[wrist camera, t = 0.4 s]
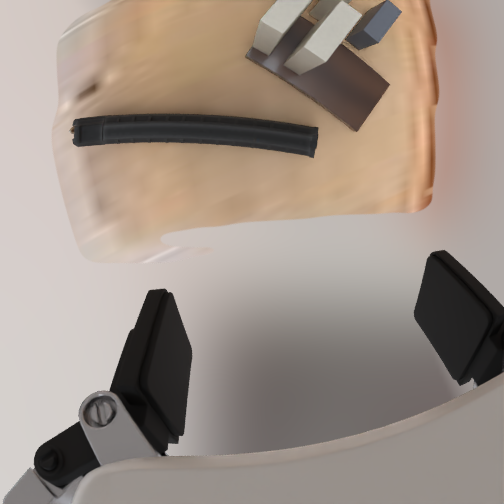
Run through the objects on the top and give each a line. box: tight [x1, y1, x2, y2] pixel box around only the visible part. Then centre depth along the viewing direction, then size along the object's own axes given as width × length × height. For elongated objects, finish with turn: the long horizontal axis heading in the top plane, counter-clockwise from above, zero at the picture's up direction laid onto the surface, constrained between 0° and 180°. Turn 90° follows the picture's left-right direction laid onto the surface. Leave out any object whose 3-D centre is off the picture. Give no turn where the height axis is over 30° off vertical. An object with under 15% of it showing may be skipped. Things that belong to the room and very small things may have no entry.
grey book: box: [345, 0, 402, 50], centre depth 24 cm, size 7×2×6 cm, turn 148°
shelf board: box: [245, 16, 390, 132], centre depth 30 cm, size 9×17×1 cm, turn 58°
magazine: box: [69, 114, 318, 158], centre depth 29 cm, size 17×3×30 cm
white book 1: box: [252, 0, 312, 56], centre depth 22 cm, size 7×2×11 cm, turn 148°
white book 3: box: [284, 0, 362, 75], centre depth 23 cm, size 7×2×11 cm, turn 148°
